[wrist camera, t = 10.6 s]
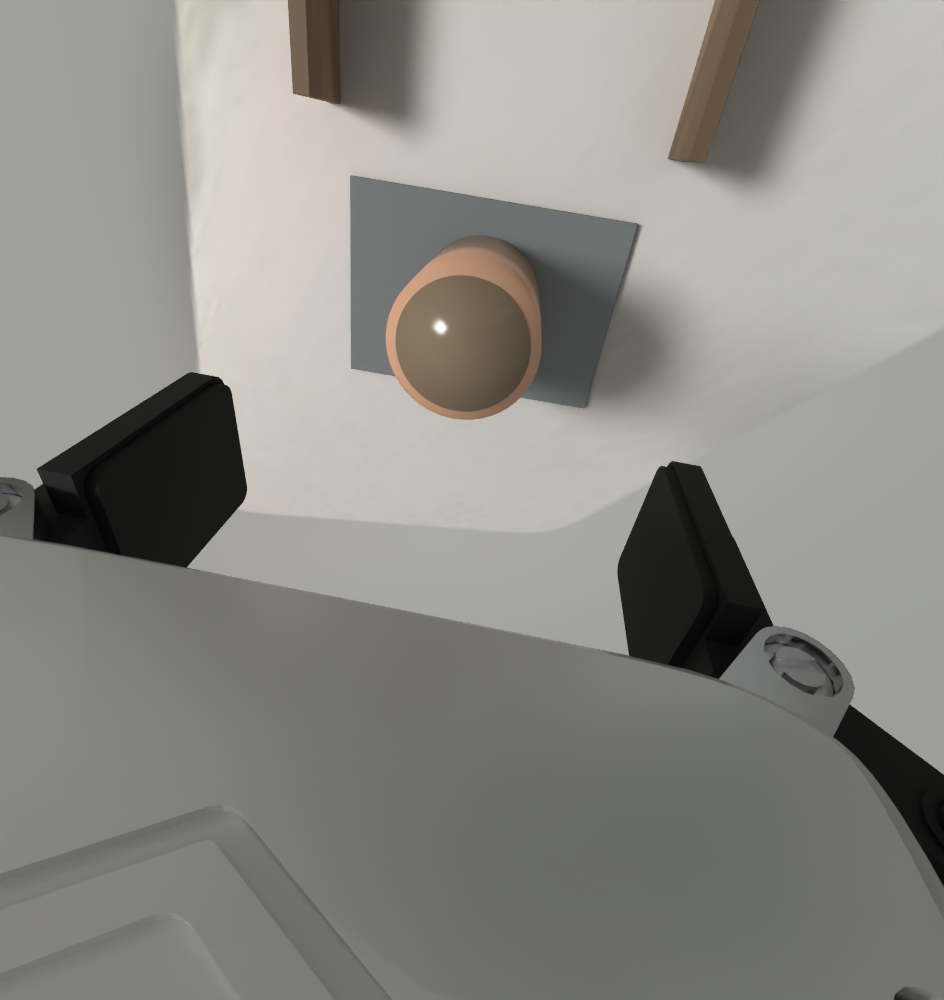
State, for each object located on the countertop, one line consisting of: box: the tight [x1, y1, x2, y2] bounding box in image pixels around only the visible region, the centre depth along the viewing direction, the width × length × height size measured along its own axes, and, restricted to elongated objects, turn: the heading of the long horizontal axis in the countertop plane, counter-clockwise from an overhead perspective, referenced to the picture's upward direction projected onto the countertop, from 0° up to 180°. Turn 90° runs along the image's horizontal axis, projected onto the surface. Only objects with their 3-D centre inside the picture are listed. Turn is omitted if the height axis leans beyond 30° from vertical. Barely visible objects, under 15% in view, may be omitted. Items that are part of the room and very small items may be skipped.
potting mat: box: [350, 176, 637, 408], centre depth 25 cm, size 13×9×1 cm
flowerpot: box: [386, 235, 542, 419], centre depth 22 cm, size 6×6×7 cm
